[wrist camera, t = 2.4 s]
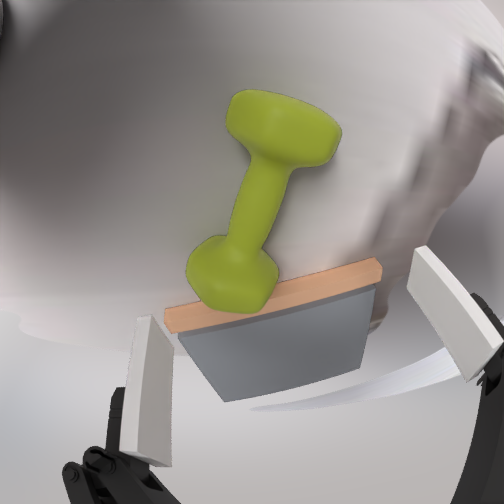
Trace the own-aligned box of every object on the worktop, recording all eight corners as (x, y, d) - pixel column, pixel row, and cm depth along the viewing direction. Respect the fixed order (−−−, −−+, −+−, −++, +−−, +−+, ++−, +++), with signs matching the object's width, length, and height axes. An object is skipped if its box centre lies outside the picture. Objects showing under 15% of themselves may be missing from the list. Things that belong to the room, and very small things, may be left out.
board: (178, 330, 32) (178, 338, 31) (371, 282, 32) (375, 288, 31) (223, 396, 44) (224, 402, 43) (357, 362, 43) (359, 368, 43)
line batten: (165, 308, 29) (163, 322, 28) (374, 256, 29) (382, 267, 28) (172, 320, 31) (171, 333, 29) (373, 270, 30) (380, 281, 29)
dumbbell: (233, 80, 18) (244, 79, 12) (328, 113, 20) (374, 132, 14) (183, 257, 26) (178, 314, 20) (261, 271, 28) (276, 326, 23)
